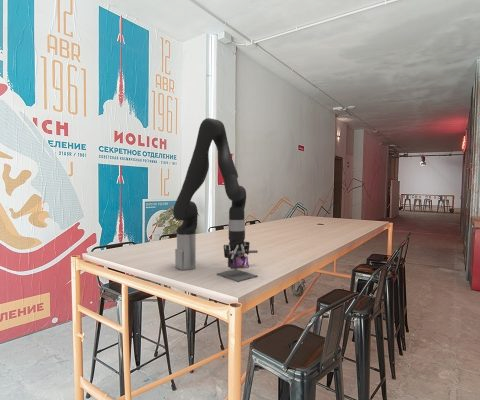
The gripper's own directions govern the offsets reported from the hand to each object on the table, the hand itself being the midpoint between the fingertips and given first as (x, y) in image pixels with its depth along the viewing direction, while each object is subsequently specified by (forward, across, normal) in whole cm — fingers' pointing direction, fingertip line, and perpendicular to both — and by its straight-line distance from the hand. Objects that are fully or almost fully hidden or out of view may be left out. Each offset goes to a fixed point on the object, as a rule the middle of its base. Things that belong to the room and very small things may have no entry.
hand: (236, 265), depth 147 cm
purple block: (+1, 0, -1) cm, 1 cm away
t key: (-1, +15, +10) cm, 18 cm away
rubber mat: (+5, 0, 0) cm, 5 cm away
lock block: (+5, +10, +12) cm, 16 cm away
